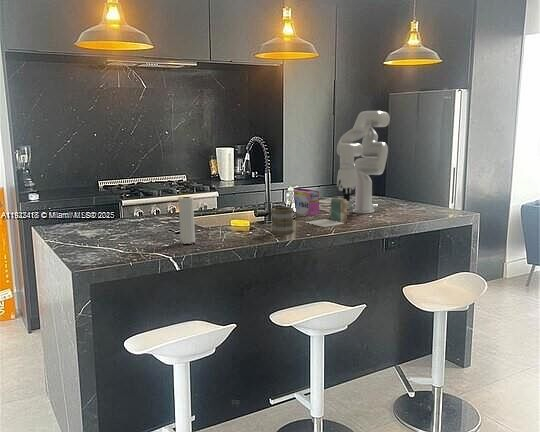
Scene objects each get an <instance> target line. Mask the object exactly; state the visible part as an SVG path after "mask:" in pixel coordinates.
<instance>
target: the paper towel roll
mask: <svg viewBox="0 0 540 432" xmlns="http://www.w3.org/2000/svg"><path fill="white" fill-rule="evenodd" d="M177 198H178V199H177V200H178V216H179V236H180V237H179V239H180V241H181V240H182V242H184V243H191V242H195V243H196V234H195V231H196V230H195V228H196V227H195V212H194V210H195V209H194V207H195V206H194V197H193V196H178V197H177ZM182 242H181V243H182Z"/></svg>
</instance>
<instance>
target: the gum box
mask: <svg viewBox="0 0 540 432" xmlns="http://www.w3.org/2000/svg"><path fill="white" fill-rule="evenodd" d="M293 188H294V200H295V208H296V213H295V214H298V215H304V216H309V217H311V215H312V216H317V214H318V215H320V191H319V190H314V189H313V190H312V189H307V188H306V189H305V188H299V187H293ZM285 190H286V191H285V194H286V193H287V190H288V188H286V189H285Z"/></svg>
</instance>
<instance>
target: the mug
mask: <svg viewBox="0 0 540 432" xmlns="http://www.w3.org/2000/svg"><path fill="white" fill-rule="evenodd" d="M271 225H272V226H271V227H272V229H271V233H273V235H275V234H276V236H288V235H293V233H294V212H293V208H290V207H286V206H278V207H272V208H271Z"/></svg>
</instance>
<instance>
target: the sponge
mask: <svg viewBox="0 0 540 432" xmlns="http://www.w3.org/2000/svg"><path fill="white" fill-rule="evenodd" d="M347 203H348V201H347V199H344V198H339V197H335V198H334V197H333V198H330V211H331V212H330V220H332V221H337V222H342V223H346V221H347V218H348V217H347V215H348V213H347V210H348V207H347V205H348V204H347Z"/></svg>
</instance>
